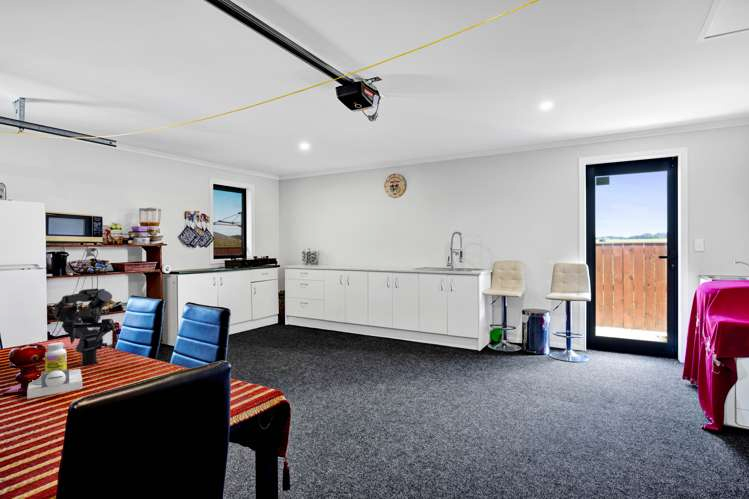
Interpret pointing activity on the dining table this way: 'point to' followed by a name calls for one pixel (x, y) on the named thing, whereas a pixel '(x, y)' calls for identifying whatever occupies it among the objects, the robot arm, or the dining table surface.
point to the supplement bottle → (55, 357)
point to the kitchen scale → (55, 383)
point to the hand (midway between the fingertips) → (83, 342)
